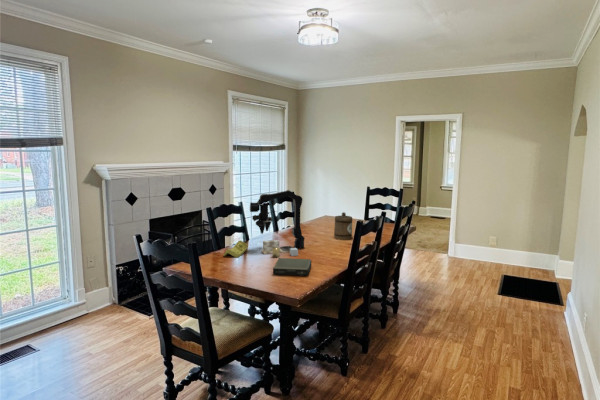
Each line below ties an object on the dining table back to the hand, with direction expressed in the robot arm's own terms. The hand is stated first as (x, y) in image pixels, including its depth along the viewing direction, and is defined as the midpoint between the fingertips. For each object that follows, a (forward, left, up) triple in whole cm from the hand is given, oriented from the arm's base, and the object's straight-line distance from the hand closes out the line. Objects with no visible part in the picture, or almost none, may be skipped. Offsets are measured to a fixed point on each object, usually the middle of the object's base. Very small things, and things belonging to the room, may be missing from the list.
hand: (264, 232), depth 274 cm
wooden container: (-72, -15, -13) cm, 75 cm away
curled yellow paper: (+21, +5, -13) cm, 26 cm away
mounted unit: (-8, +9, -13) cm, 18 cm away
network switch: (-3, +53, -14) cm, 55 cm away
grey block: (-15, +21, -13) cm, 29 cm away
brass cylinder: (-2, +21, -13) cm, 25 cm away
